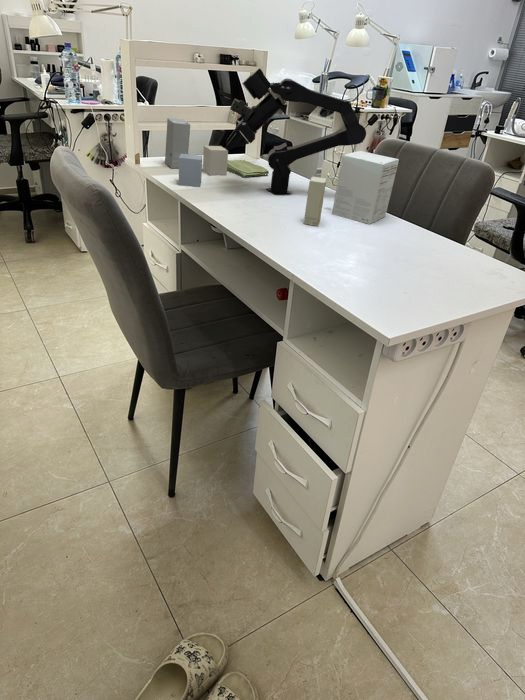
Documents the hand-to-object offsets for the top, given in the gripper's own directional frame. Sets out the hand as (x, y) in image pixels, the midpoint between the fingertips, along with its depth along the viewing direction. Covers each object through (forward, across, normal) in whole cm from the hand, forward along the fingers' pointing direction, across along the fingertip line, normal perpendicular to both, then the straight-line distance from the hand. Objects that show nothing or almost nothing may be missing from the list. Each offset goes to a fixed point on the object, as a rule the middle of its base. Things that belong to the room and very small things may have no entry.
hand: (226, 146), depth 159 cm
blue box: (+17, 0, +1) cm, 17 cm away
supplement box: (-20, +18, +40) cm, 48 cm away
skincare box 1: (+22, -23, -4) cm, 32 cm away
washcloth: (+5, -26, +14) cm, 30 cm away
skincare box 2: (-9, +30, +28) cm, 42 cm away
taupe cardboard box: (+12, -18, +6) cm, 23 cm away
